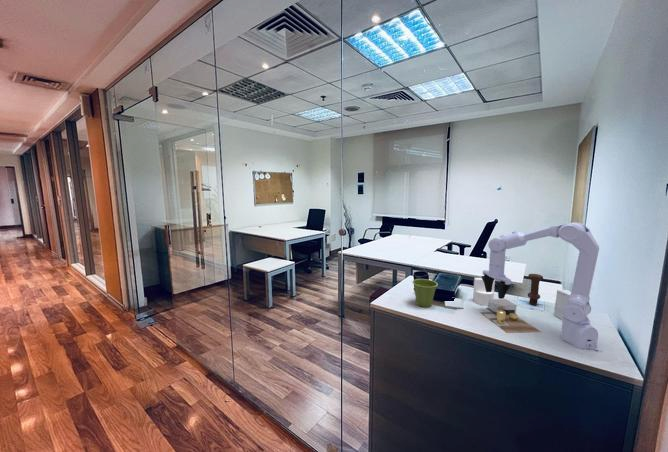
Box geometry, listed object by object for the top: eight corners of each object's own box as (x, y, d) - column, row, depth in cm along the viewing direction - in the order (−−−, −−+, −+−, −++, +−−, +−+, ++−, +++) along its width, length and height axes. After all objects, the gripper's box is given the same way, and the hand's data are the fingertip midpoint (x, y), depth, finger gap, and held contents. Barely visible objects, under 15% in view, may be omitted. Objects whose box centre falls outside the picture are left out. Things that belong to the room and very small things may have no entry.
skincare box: (553, 315, 120) (555, 289, 119) (562, 315, 121) (565, 289, 119) (565, 321, 114) (568, 294, 113) (575, 321, 114) (578, 294, 113)
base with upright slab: (475, 304, 132) (477, 281, 131) (470, 298, 141) (472, 275, 139) (496, 306, 130) (497, 282, 129) (489, 299, 139) (491, 277, 137)
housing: (515, 314, 119) (516, 305, 118) (497, 314, 118) (498, 305, 118) (505, 307, 126) (505, 299, 125) (487, 307, 125) (488, 299, 125)
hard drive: (464, 308, 126) (461, 298, 137) (445, 305, 128) (444, 296, 140) (463, 311, 126) (461, 301, 137) (445, 309, 129) (444, 299, 140)
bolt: (542, 307, 129) (545, 277, 127) (530, 306, 130) (533, 276, 128) (535, 302, 135) (538, 273, 133) (524, 301, 136) (527, 273, 134)
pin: (505, 327, 110) (507, 313, 109) (498, 326, 110) (499, 312, 109) (502, 323, 112) (503, 310, 112) (494, 323, 113) (495, 309, 112)
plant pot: (410, 307, 129) (411, 284, 128) (413, 298, 140) (413, 277, 139) (436, 311, 125) (437, 288, 123) (437, 302, 135) (438, 280, 134)
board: (543, 334, 104) (544, 327, 103) (506, 335, 103) (507, 327, 103) (504, 309, 127) (504, 303, 126) (473, 309, 126) (473, 303, 126)
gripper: (518, 269, 110) (516, 300, 112) (493, 260, 124) (491, 288, 126) (503, 269, 109) (500, 301, 111) (479, 261, 123) (477, 289, 125)
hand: (494, 295), depth 118 cm, fingers open, 7 cm apart
